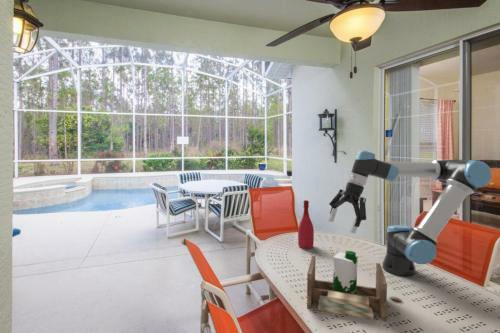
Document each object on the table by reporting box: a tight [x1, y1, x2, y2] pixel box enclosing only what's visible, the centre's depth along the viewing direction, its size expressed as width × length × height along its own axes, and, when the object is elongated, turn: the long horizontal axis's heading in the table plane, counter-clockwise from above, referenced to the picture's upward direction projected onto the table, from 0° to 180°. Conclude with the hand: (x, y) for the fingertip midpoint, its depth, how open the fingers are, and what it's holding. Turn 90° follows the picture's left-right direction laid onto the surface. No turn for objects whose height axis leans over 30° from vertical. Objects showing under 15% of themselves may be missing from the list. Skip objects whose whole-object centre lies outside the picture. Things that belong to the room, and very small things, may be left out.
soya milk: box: [332, 250, 359, 294], centre depth 118 cm, size 9×9×20 cm
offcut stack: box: [317, 290, 374, 320], centre depth 109 cm, size 20×6×6 cm, turn 73°
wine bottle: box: [297, 199, 315, 250], centre depth 179 cm, size 10×10×30 cm
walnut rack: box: [306, 255, 388, 322], centre depth 116 cm, size 28×19×14 cm, turn 72°
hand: (341, 226), depth 131 cm, fingers open, 13 cm apart
